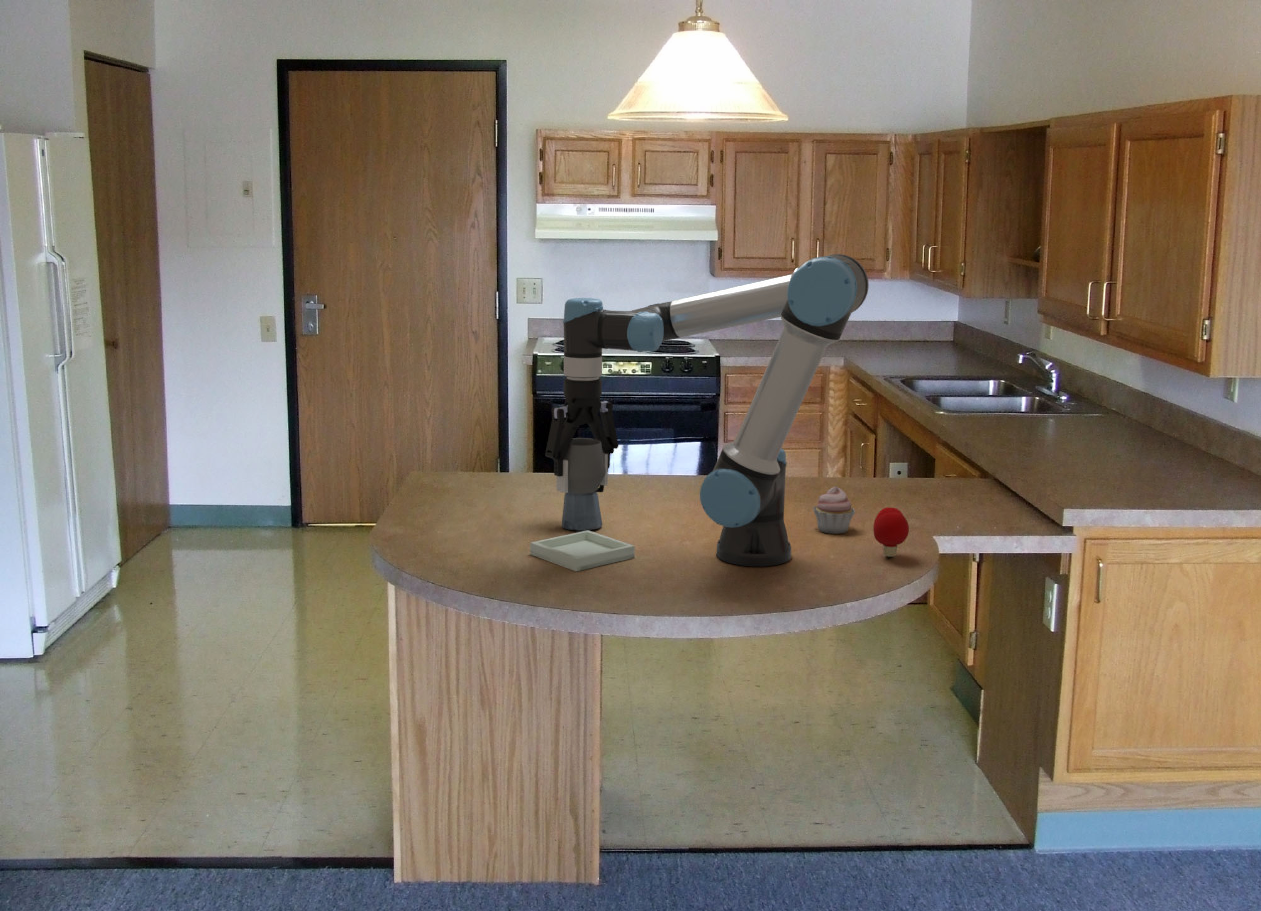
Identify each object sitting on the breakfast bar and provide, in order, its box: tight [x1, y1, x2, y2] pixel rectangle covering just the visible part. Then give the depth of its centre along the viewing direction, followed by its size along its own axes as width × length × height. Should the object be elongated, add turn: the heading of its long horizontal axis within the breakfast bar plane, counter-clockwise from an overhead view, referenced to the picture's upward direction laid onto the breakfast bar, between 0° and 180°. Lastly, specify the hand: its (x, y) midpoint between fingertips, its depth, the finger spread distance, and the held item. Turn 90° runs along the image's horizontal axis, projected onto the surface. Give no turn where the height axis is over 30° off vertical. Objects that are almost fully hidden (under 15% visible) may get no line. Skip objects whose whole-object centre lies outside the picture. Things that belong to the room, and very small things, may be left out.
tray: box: [529, 530, 636, 572], centre depth 267 cm, size 15×15×2 cm
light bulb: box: [873, 507, 910, 559], centre depth 267 cm, size 9×7×10 cm
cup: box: [564, 437, 606, 493], centre depth 263 cm, size 10×9×10 cm
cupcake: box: [812, 486, 856, 535], centre depth 287 cm, size 9×9×10 cm
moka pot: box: [561, 436, 610, 532], centre depth 286 cm, size 10×15×20 cm, turn 51°
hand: (582, 487), depth 264 cm, fingers closed on cup, 9 cm apart
